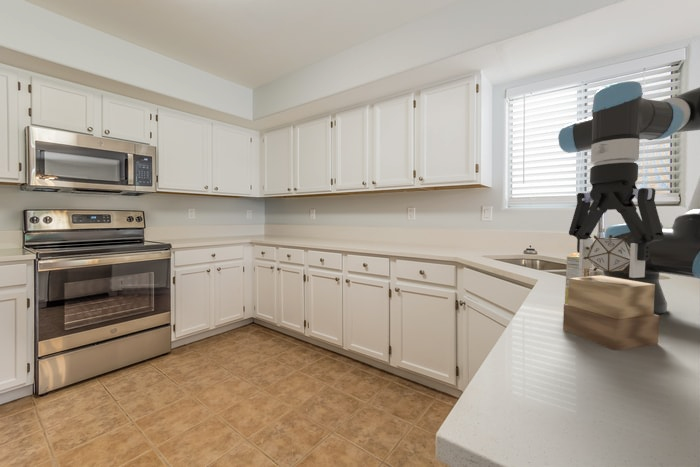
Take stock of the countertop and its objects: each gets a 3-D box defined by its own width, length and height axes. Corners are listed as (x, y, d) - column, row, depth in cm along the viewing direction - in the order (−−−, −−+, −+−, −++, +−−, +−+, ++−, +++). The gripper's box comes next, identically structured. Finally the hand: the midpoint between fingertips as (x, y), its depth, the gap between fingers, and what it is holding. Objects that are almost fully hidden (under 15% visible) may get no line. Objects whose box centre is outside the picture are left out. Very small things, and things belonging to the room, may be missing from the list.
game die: (620, 292, 64) (659, 257, 58) (577, 276, 66) (611, 240, 59) (608, 265, 71) (642, 231, 65) (569, 251, 73) (598, 217, 66)
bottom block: (601, 326, 73) (602, 300, 72) (657, 345, 62) (659, 315, 62) (562, 330, 70) (563, 304, 70) (614, 351, 60) (615, 320, 59)
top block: (600, 301, 72) (601, 275, 72) (653, 314, 63) (654, 284, 62) (567, 305, 69) (568, 278, 69) (618, 319, 60) (620, 288, 59)
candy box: (569, 308, 86) (571, 252, 86) (588, 311, 84) (590, 253, 83) (563, 315, 80) (565, 255, 79) (584, 319, 77) (586, 257, 76)
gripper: (552, 171, 74) (549, 264, 76) (664, 152, 53) (658, 284, 54) (578, 171, 76) (574, 263, 77) (698, 154, 54) (690, 282, 55)
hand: (609, 272), depth 66 cm, fingers closed on game die, 10 cm apart
